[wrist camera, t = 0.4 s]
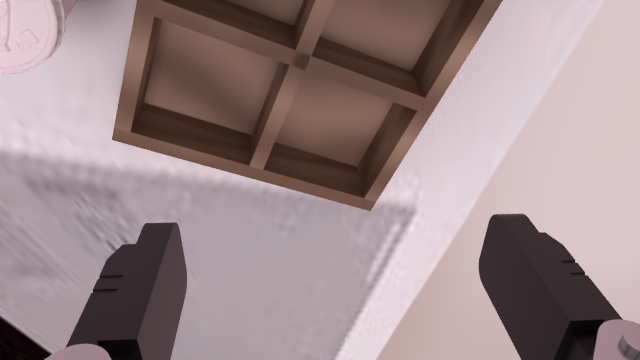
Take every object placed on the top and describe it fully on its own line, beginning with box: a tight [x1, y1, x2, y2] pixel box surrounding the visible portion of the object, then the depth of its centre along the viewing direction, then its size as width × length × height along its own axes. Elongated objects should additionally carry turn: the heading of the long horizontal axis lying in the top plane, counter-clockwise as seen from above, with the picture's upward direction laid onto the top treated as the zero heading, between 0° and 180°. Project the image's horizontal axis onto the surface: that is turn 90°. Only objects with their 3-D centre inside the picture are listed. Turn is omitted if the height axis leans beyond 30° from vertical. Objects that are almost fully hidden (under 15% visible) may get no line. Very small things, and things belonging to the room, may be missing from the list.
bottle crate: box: [112, 0, 503, 211], centre depth 30 cm, size 19×19×5 cm
